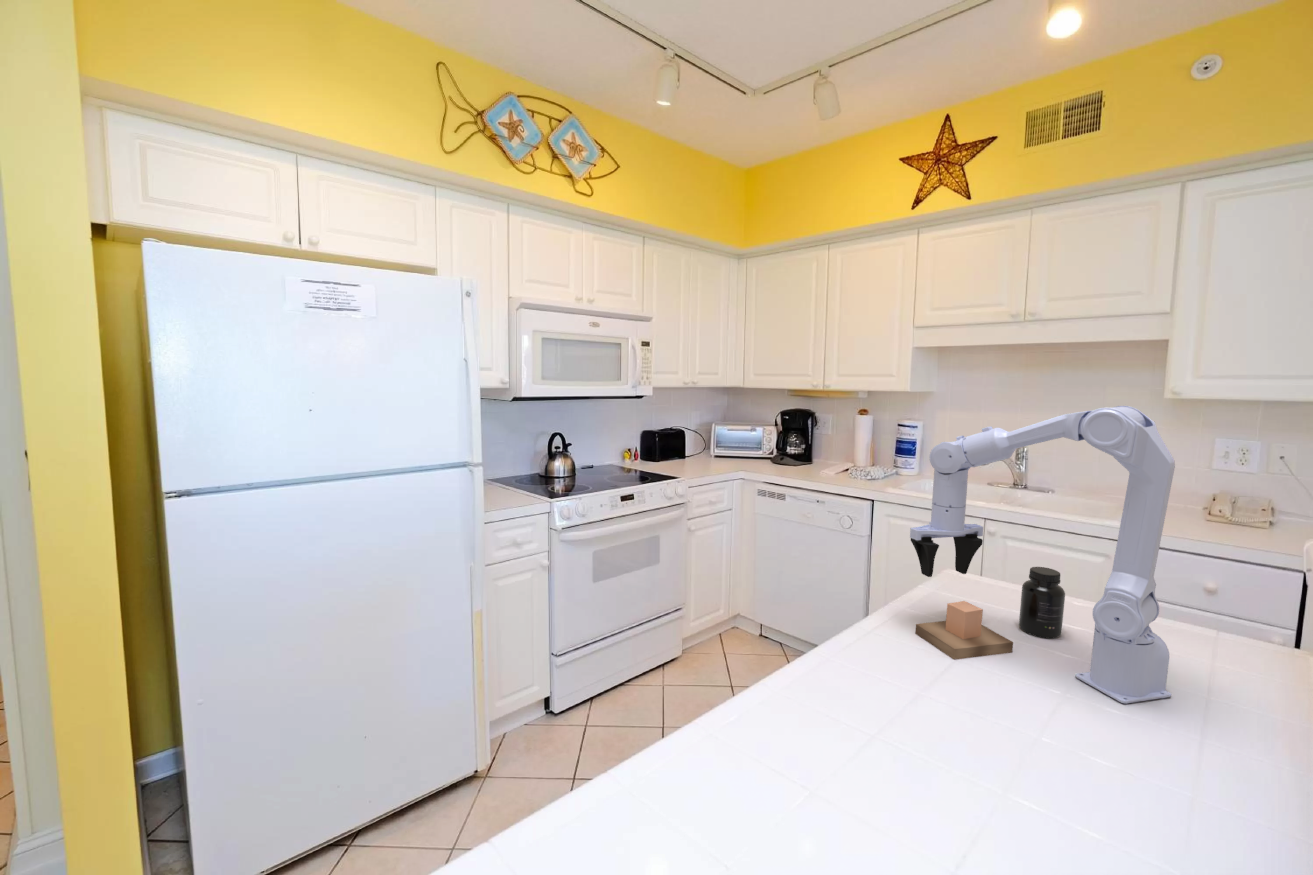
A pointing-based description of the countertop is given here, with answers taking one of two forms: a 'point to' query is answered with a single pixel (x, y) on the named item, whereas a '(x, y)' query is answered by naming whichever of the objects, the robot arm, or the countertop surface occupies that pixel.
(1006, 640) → the walnut board
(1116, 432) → the robot arm
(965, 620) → the terracotta block
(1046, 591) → the supplement bottle
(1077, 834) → the countertop surface
